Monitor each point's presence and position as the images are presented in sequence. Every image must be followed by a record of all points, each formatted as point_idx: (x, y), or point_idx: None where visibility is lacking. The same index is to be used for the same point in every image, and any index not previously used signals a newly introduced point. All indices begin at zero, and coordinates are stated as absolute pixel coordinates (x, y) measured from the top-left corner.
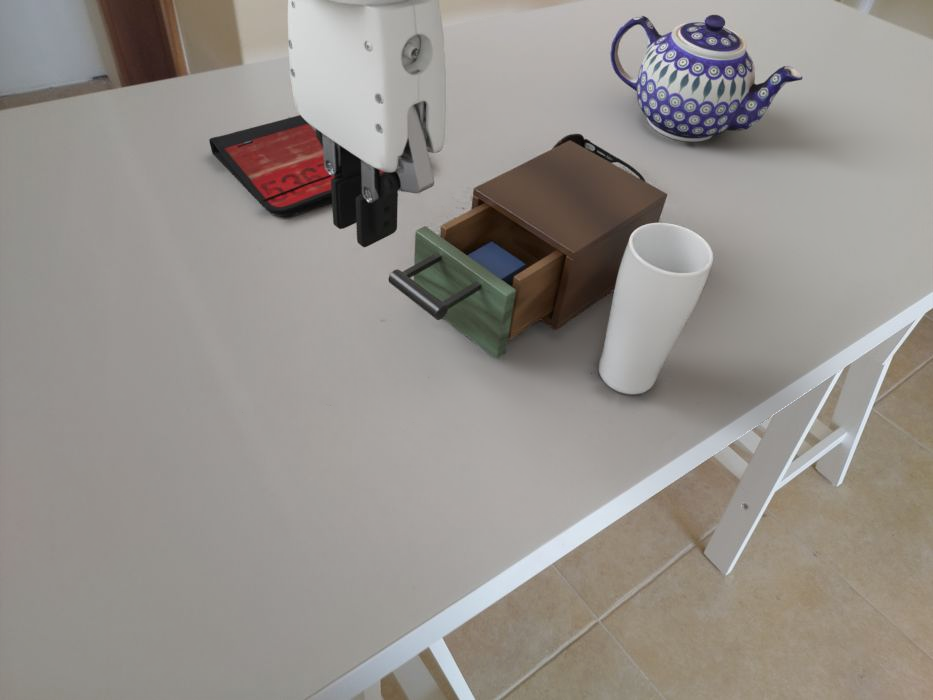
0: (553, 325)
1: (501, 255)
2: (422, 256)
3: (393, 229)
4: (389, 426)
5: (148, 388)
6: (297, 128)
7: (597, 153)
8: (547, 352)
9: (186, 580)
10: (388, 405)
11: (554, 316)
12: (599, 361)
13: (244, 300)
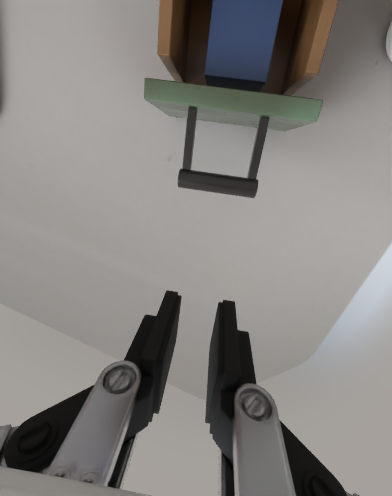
0: None
1: (243, 11)
2: (167, 107)
3: (247, 332)
4: (246, 239)
5: (115, 302)
6: None
7: None
8: (320, 72)
9: None
10: (234, 226)
11: None
12: (389, 45)
13: (80, 218)
